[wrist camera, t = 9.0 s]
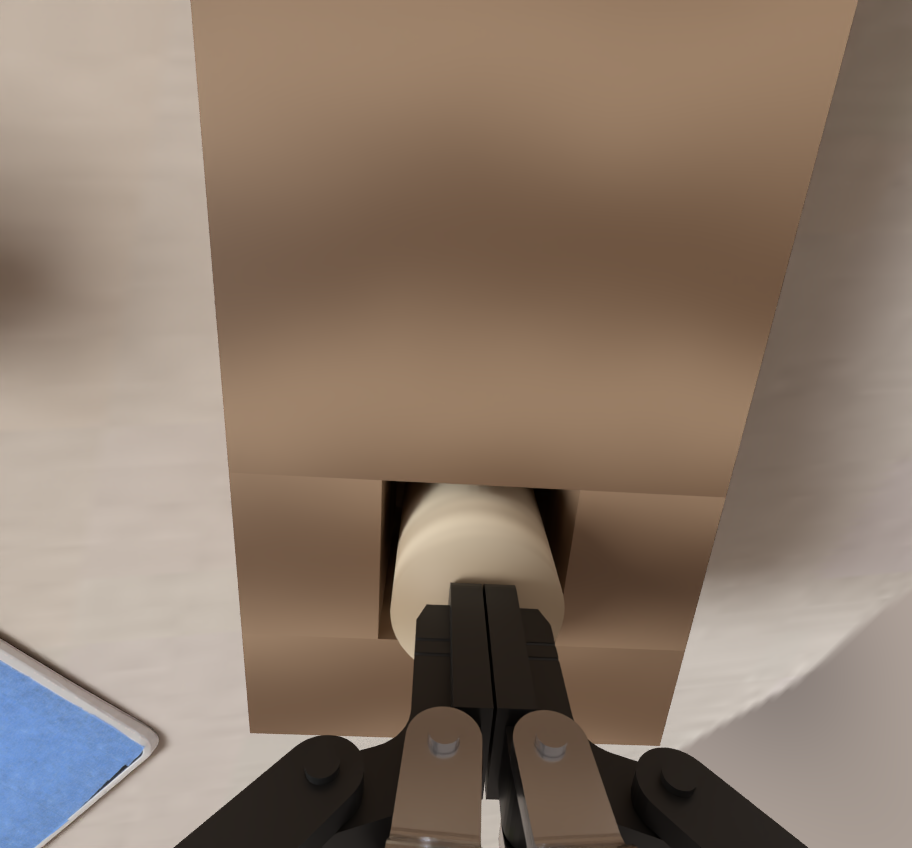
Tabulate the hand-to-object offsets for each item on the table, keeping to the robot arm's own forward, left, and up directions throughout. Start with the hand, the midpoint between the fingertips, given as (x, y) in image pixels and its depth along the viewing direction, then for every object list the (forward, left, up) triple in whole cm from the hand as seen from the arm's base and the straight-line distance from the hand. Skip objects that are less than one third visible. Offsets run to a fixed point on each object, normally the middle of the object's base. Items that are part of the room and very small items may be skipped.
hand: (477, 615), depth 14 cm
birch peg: (0, 0, -7) cm, 7 cm away
